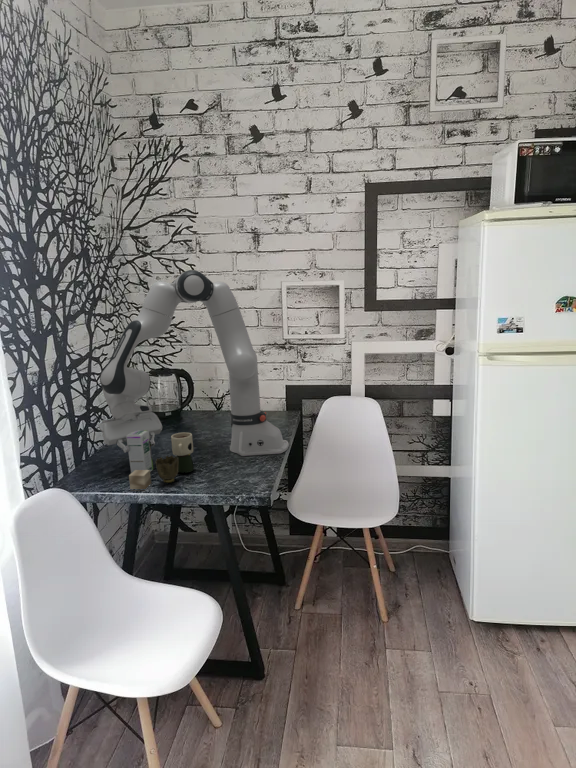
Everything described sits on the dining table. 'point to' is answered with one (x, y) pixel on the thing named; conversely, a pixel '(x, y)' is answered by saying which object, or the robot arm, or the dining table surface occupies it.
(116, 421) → the robot arm
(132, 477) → the birch block
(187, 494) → the dining table surface
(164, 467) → the cup
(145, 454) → the syrup box
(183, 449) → the character mug
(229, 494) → the dining table surface
